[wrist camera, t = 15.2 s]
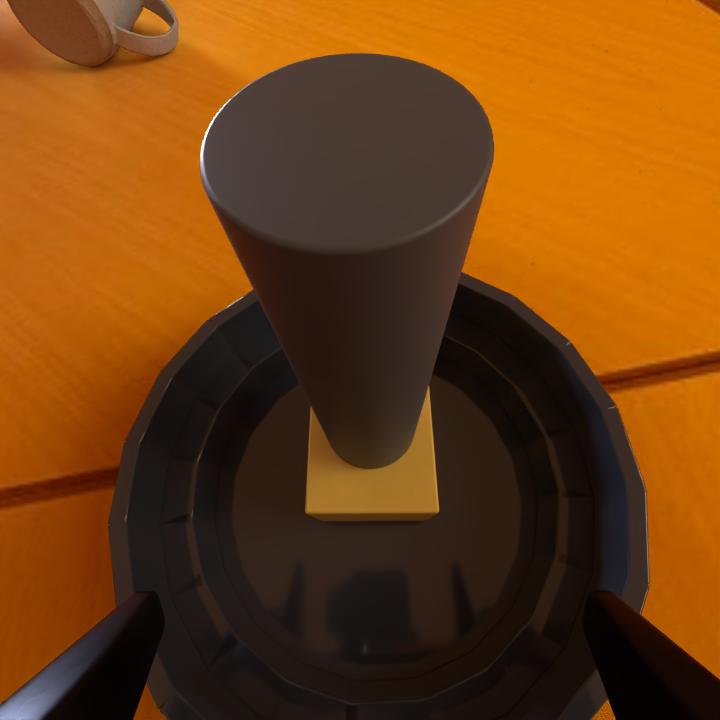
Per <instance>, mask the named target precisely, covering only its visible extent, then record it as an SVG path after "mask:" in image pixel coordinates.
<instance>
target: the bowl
mask: <svg viewBox="0 0 720 720" xmlns="http://www.w3.org/2000/svg"><path fill="white" fill-rule="evenodd" d="M429 392H430V404H431V416H432V429H433V441H434V453H435V465H436V477H437V489H438V501H439V512H438V513H437V514H435V515H434V516H432V517H431V518H429V519H428V520H426V521H321V520H319V519H317V518H315V517H313V516H310V515H308V514H306V512H305V503H306V484H307V466H308V447H309V428H310V409H311V405H310V403H309V401H308V399H307V397H306V395H305V393H304V391H303V389H302V387H301V385H300V383H299V381H298V378H297V376H296V374H295V372H294V370H293V368H292V366H291V364H290V362H289V360H288V358H287V356H286V354H285V352H284V350H283V348H282V346H281V344H280V342H279V340H278V338H277V336H276V334H275V332H274V330H273V328H272V326H271V324H270V322H269V320H268V318H267V316H266V314H265V312H264V310H263V307H262V305H261V303H260V301H259V299H258V297H257V295H256V293H255V291H254V290H252V291H251V292H249V293H247V294H246V295H244V296H243V297H241V298H240V299H238V300H237V301H235V302H234V303H232V304H231V305H229V306H228V307H226V308H225V309H223V310H221V311H220V312H218V313H217V314H215V315H214V316H212V317H211V318H209V320H207V321H206V322H205V323H204V324H203V325H202V326H201V327H200V328H199V329H198V330H197V332H196V333H195V334H194V335H193V336H192V337H191V338H190V339H189V340H188V342H187V343H186V344H185V345H184V346H183V347H182V348H181V349H180V350H179V351H178V353H177V354H176V355H175V356H174V357H173V358H172V359H171V360H170V361H169V362H168V364H167V365H166V366H165V367H164V368H163V369H162V370H161V371H160V373H159V375H158V377H157V379H156V381H155V383H154V385H153V386H152V388H151V390H150V392H149V394H148V396H147V398H146V400H145V402H144V404H143V406H142V408H141V410H140V412H139V414H138V416H137V418H136V420H135V422H134V424H133V426H132V428H131V430H130V431H129V433H128V435H127V437H126V439H125V441H126V442H125V443H124V446H123V451H122V456H121V461H120V466H119V471H118V476H117V481H116V486H115V491H114V496H113V502H112V507H111V512H110V517H109V522H108V524H110V525H109V526H108V530H109V540H110V550H111V560H112V570H113V580H114V590H115V601H116V608H117V607H118V606H119V605H121V604H122V603H123V602H124V601H125V600H127V599H128V598H129V597H130V596H131V595H133V594H134V593H136V592H138V591H155V592H156V593H158V595H159V598H160V602H161V606H162V609H163V613H164V617H165V627H164V631H163V634H162V637H161V640H160V643H159V646H158V649H157V652H156V655H155V658H154V661H153V663H152V666H151V669H150V672H149V675H148V678H147V681H146V683H147V685H148V688H149V690H150V692H151V694H152V696H153V699H154V701H155V703H156V705H157V708H158V709H160V712H161V713H162V714H163V715H164V716H165V717H166V718H167V719H168V720H591V719H592V718H593V717H594V716H595V714H596V713H597V712H598V711H599V709H600V708H601V707H602V706H603V704H604V703H605V702H606V700H607V699H608V697H607V694H606V691H605V688H604V686H603V683H602V680H601V677H600V675H599V672H598V669H597V666H596V664H595V661H594V658H593V655H592V653H591V650H590V647H589V644H588V642H587V639H586V636H585V633H584V630H583V625H582V617H583V612H584V607H585V601H586V596H587V593H588V592H589V591H590V590H608V591H611V592H613V593H614V594H616V595H617V596H618V597H619V598H621V599H622V600H623V601H624V602H625V603H627V604H628V605H629V606H630V607H632V608H633V609H634V610H635V611H636V612H638V613H639V614H640V615H641V613H642V609H643V606H644V603H645V600H646V596H647V593H648V590H649V585H648V584H649V583H650V580H649V552H648V523H647V495H646V490H644V489H645V484H644V481H643V479H642V476H641V473H640V470H639V467H638V464H637V461H636V459H635V456H634V453H633V450H632V447H631V444H630V442H629V439H628V436H627V433H626V430H625V427H624V425H623V422H622V419H621V416H620V413H619V410H618V408H616V407H617V406H616V404H615V403H614V401H613V400H612V399H611V397H610V396H609V394H608V393H607V392H606V390H605V389H604V387H603V386H602V385H601V383H600V382H599V380H598V379H597V378H596V376H595V375H594V373H593V372H592V371H591V369H590V368H589V366H588V365H587V364H586V362H585V361H584V359H583V358H582V357H581V355H580V354H579V352H578V351H577V350H576V348H575V347H574V345H573V344H572V343H570V341H569V340H568V339H567V338H566V337H564V336H563V335H562V334H561V333H559V332H558V331H557V330H556V329H554V328H553V327H552V326H551V325H550V324H548V323H547V322H546V321H545V320H543V319H542V318H541V317H540V316H538V315H537V314H536V313H535V312H534V311H532V310H531V309H530V308H529V307H527V306H526V305H525V304H524V303H523V302H521V301H520V300H519V299H518V298H516V297H514V296H513V295H511V294H509V293H507V292H505V291H502V290H500V289H498V288H496V287H494V286H491V285H489V284H487V283H485V282H483V281H480V280H478V279H476V278H474V277H471V276H469V275H467V274H465V273H463V272H461V275H460V279H459V282H458V285H457V289H456V292H455V296H454V299H453V303H452V306H451V310H450V313H449V317H448V320H447V324H446V327H445V331H444V334H443V338H442V341H441V345H440V348H439V352H438V355H437V358H436V362H435V365H434V369H433V372H432V376H431V379H430V383H429Z"/></svg>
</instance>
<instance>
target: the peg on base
mask: <svg viewBox="0 0 720 720" xmlns="http://www.w3.org/2000/svg"><path fill="white" fill-rule="evenodd" d="M493 157H494V141H493V134H492V129H491V126H490V123H489V120H488V117H487V115H486V113H485V111H484V110H483V108H482V106H481V105H480V103H479V102H478V101H477V99H476V98H475V97H474V96H473V95H472V94H471V93H470V92H469V91H468V90H467V89H466V88H465V87H464V86H463V85H461V84H460V83H459V82H457V81H456V80H454V79H453V78H452V77H450V76H448V75H446V74H444V73H443V72H441V71H439V70H437V69H434V68H432V67H430V66H427V65H425V64H422V63H419V62H416V61H413V60H409V59H404V58H400V57H396V56H389V55H381V54H367V53H350V54H337V55H328V56H322V57H316V58H311V59H307V60H303V61H299V62H296V63H293V64H290V65H287V66H284V67H281V68H279V69H277V70H274V71H272V72H270V73H268V74H266V75H264V76H262V77H260V78H258V79H256V80H255V81H253V82H252V83H250V84H249V85H247V86H246V87H244V88H243V89H241V90H240V91H239V92H238V93H236V94H235V95H234V96H233V97H232V98H230V99H229V101H228V102H227V103H226V104H225V105H224V106H223V107H222V108H221V109H220V110H219V112H218V113H217V114H216V116H215V117H214V118H213V120H212V122H211V124H210V125H209V127H208V129H207V131H206V134H205V137H204V139H203V142H202V147H201V154H200V173H201V178H202V182H203V187H204V189H205V191H206V193H207V196H208V198H209V200H210V202H211V204H212V206H213V208H214V210H215V212H216V214H217V216H218V218H219V220H220V222H221V224H222V226H223V228H224V230H225V232H226V234H227V237H228V239H229V241H230V243H231V245H232V247H233V249H234V251H235V253H236V255H237V257H238V259H239V261H240V263H241V265H242V267H243V269H244V271H245V273H246V275H247V277H248V279H249V281H250V283H251V285H252V287H253V289H254V291H255V293H256V295H257V297H258V299H259V301H260V303H261V305H262V307H263V310H264V312H265V314H266V316H267V318H268V320H269V322H270V324H271V326H272V328H273V330H274V332H275V334H276V336H277V338H278V340H279V342H280V344H281V346H282V348H283V350H284V352H285V354H286V356H287V358H288V360H289V362H290V364H291V366H292V368H293V370H294V372H295V374H296V376H297V378H298V381H299V383H300V385H301V387H302V389H303V391H304V393H305V395H306V397H307V399H308V401H309V403H310V405H311V409H310V428H309V447H308V466H307V484H306V503H305V512H306V514H308V515H310V516H313V517H315V518H317V519H319V520H321V521H426V520H428V519H429V518H431V517H432V516H434V515H435V514H437V513H438V512H439V501H438V489H437V477H436V465H435V453H434V441H433V429H432V416H431V404H430V392H429V383H430V379H431V376H432V372H433V369H434V365H435V362H436V358H437V355H438V352H439V348H440V345H441V341H442V338H443V334H444V331H445V327H446V324H447V320H448V317H449V313H450V310H451V306H452V303H453V299H454V296H455V292H456V289H457V285H458V282H459V279H460V275H461V272H462V268H463V265H464V261H465V258H466V254H467V251H468V247H469V244H470V240H471V237H472V233H473V230H474V226H475V223H476V219H477V216H478V213H479V209H480V206H481V202H482V199H483V195H484V192H485V188H486V185H487V181H488V178H489V174H490V171H491V167H492V164H493Z"/></svg>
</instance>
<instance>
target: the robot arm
mask: <svg viewBox="0 0 720 720" xmlns="http://www.w3.org/2000/svg"><path fill="white" fill-rule="evenodd" d="M582 625H583V630H584V633H585V636H586V639H587V642H588V644H589V647H590V650H591V653H592V655H593V658H594V661H595V664H596V666H597V669H598V672H599V675H600V677H601V680H602V683H603V686H604V688H605V691H606V694H607V697H608V699H609V702H610V705H611V708H612V710H613V713H614V716H615V718H616V720H720V680H719V679H718V678H717V677H716V676H715V675H713V674H712V673H711V672H710V671H708V670H707V669H706V668H705V667H704V666H702V665H701V664H700V663H699V662H697V661H696V660H695V659H694V658H693V657H691V656H690V655H689V654H688V653H686V652H685V651H684V650H683V649H682V648H680V647H679V646H678V645H677V644H675V643H674V642H673V641H672V640H671V639H669V638H668V637H667V636H666V635H665V634H663V633H662V632H661V631H660V630H658V629H657V628H656V627H655V626H654V625H652V624H651V623H650V622H649V621H647V620H646V619H645V618H644V617H643V616H641V615H640V614H639V613H638V612H636V611H635V610H634V609H633V608H632V607H630V606H629V605H628V604H627V603H625V602H624V601H623V600H622V599H621V598H619V597H618V596H617V595H616V594H614V593H613V592H611V591H608V590H590V591H589V592H588V593H587V596H586V601H585V607H584V612H583V617H582ZM164 627H165V617H164V613H163V609H162V606H161V602H160V598H159V595H158V593H156V592H155V591H138V592H136V593H134V594H133V595H131V596H130V597H129V598H128V599H127V600H125V601H124V602H123V603H122V604H121V605H119V606H118V607H117V608H116V609H115V610H113V611H112V612H111V613H110V614H108V615H107V616H106V617H105V618H104V619H102V620H101V621H100V622H99V623H98V624H96V625H95V626H94V627H93V628H92V629H90V630H89V631H88V632H87V633H86V634H84V635H83V636H82V637H81V638H80V639H78V640H77V641H76V642H75V643H74V644H72V645H71V646H70V647H69V648H67V649H66V650H65V651H64V652H63V653H61V654H60V655H59V656H58V657H57V658H55V659H54V660H53V661H52V662H51V663H49V664H48V665H47V666H46V667H45V668H43V669H42V670H41V671H40V672H39V673H37V674H36V675H35V676H34V677H33V678H31V679H30V680H29V681H28V682H26V683H25V684H24V685H23V686H22V687H20V688H19V689H18V690H17V691H16V692H14V693H13V694H12V695H11V696H10V697H8V698H7V699H6V700H5V701H4V702H2V703H1V704H0V720H133V718H134V715H135V712H136V710H137V707H138V704H139V701H140V698H141V696H142V693H143V690H144V687H145V684H146V681H147V678H148V675H149V672H150V669H151V666H152V663H153V661H154V658H155V655H156V652H157V649H158V646H159V643H160V640H161V637H162V634H163V631H164Z"/></svg>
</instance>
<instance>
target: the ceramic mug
mask: <svg viewBox="0 0 720 720" xmlns="http://www.w3.org/2000/svg"><path fill="white" fill-rule="evenodd" d="M7 1H8V3H9V5H10V7H11V9H12V11H13V13H14V14H15V16H16V17H17V19H18V20H19V22H20V23H21V24H22V25H23V27H24V28H25V29H26V30H27V32H28V33H29V34H30V35H31V36H32V37H33V38H35V39H36V40H37V41H38V42H39V43H40V44H41V45H42V46H43V47H45V48H46V49H47V50H49V51H50V52H51V53H53V54H55V55H57V56H58V57H60V58H62V59H64V60H66V61H68V62H70V63H73V64H77V65H81V66H97V65H100V64H102V63H104V62H105V61H107V60H108V59H109V58H110V57H111V56H113V55H114V53H115V52H116V51H117V50H118V48H119V46H121V47H123V48H124V49H126V50H129V51H131V52H134V53H139V54H142V55H147V56H159V55H163V54H165V53H169V52H170V51H171V50H173V49H174V48H175V46H176V44H177V42H178V20H177V17H176V14H175V13H174V11H173V10H172V8H171V7H170V6H169V5H168V4H167V2H166V1H165V0H7ZM143 7H145V8H147V9H149V10H151V11H152V12H154V13H155V14H157V15H158V16H160V17H161V18H162V19H163V20H165V21H166V22H167V24H168V25H169V26H170V27H171V29H170V30H169V31H168V32H167V33H165V34H162V35H159V36H145V35H140V34H136V33H134V32H130V29H131V28H132V27H133V25H134V23H135V22H136V20H137V19H138V17H139V16H140V14H141V12H142V10H143Z"/></svg>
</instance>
